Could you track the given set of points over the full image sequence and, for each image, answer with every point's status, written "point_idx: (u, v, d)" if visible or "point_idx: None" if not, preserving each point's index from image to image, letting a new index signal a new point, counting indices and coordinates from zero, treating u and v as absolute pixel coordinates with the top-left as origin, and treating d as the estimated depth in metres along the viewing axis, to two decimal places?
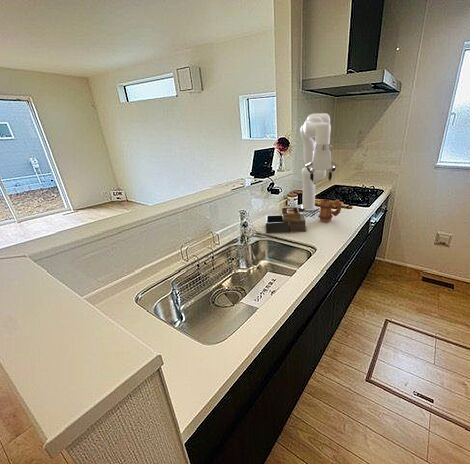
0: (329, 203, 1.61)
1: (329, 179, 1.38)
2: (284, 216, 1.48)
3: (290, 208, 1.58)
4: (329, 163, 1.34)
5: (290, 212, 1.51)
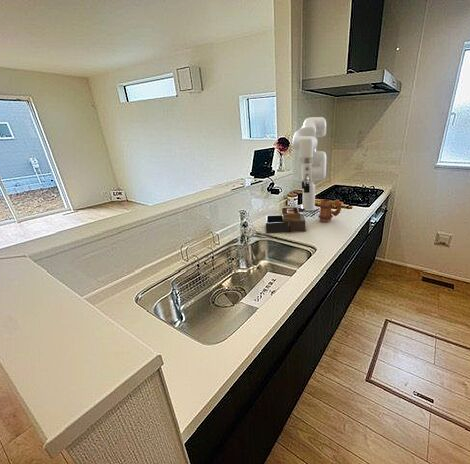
0: (329, 203, 1.61)
1: (304, 191, 1.43)
2: (284, 216, 1.48)
3: (290, 208, 1.58)
4: (302, 175, 1.41)
5: (290, 212, 1.51)
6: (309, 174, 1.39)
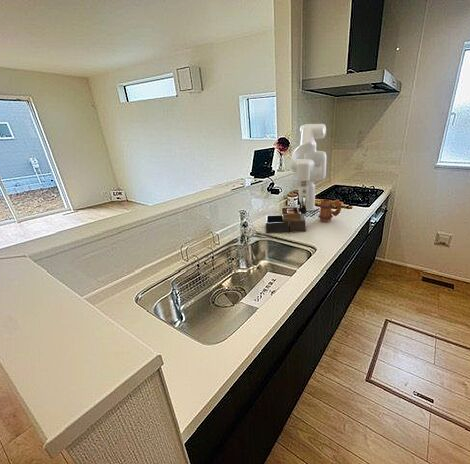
0: (329, 203, 1.61)
1: None
2: (284, 216, 1.48)
3: (290, 208, 1.58)
4: (300, 197, 1.47)
5: (290, 212, 1.51)
6: (306, 196, 1.45)
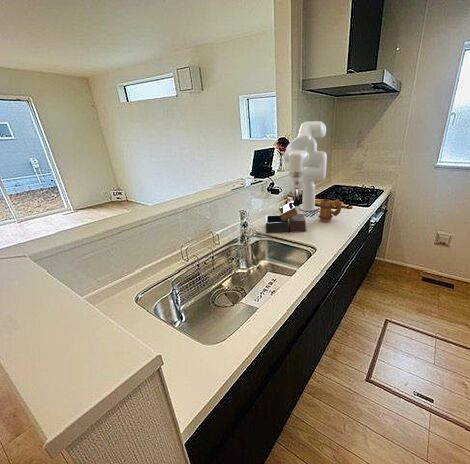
0: (329, 203, 1.61)
1: None
2: (281, 216, 1.48)
3: (286, 205, 1.57)
4: (292, 189, 1.45)
5: (286, 210, 1.50)
6: (299, 188, 1.43)
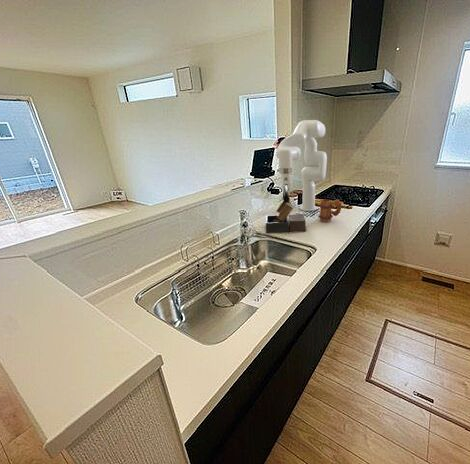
0: (329, 203, 1.61)
1: None
2: (279, 217, 1.48)
3: None
4: (282, 185, 1.44)
5: None
6: (288, 184, 1.42)
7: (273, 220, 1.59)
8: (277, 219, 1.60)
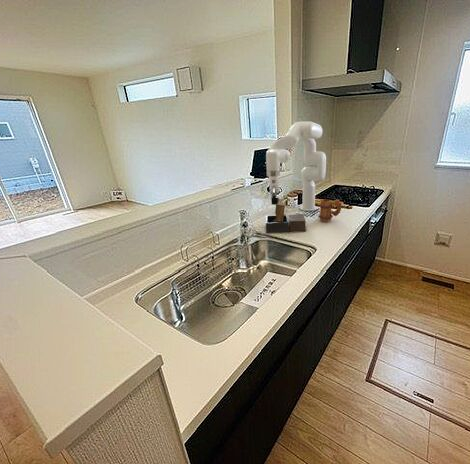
0: (329, 203, 1.61)
1: None
2: (277, 219, 1.49)
3: None
4: (270, 188, 1.44)
5: None
6: (276, 186, 1.43)
7: (273, 220, 1.59)
8: None
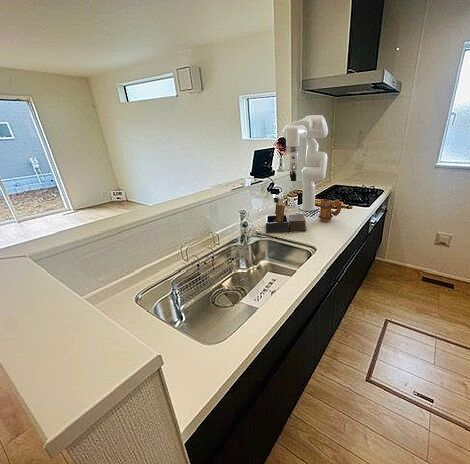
0: (329, 203, 1.61)
1: None
2: (277, 219, 1.49)
3: None
4: (289, 164, 1.44)
5: None
6: (295, 163, 1.42)
7: (273, 220, 1.59)
8: None
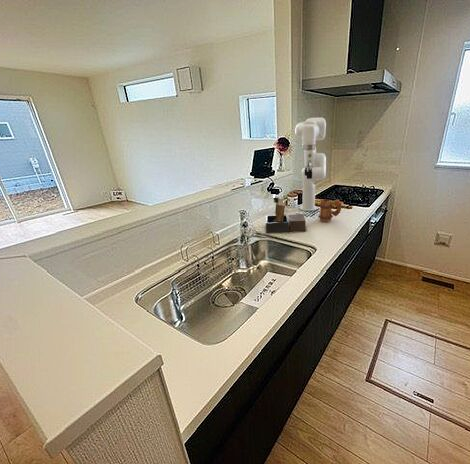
0: (329, 203, 1.61)
1: (306, 177, 1.49)
2: (277, 219, 1.49)
3: None
4: (305, 162, 1.47)
5: None
6: (312, 160, 1.45)
7: (273, 220, 1.59)
8: None
